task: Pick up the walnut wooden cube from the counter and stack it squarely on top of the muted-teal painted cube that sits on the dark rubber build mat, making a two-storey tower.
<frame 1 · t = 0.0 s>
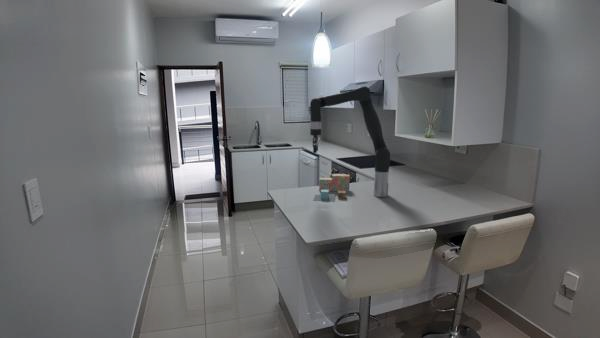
hand: (315, 151, 225), 29 cm above the countertop, fingers open, 8 cm apart
teal cube: (324, 198, 216), point 1 cm above the countertop, touching build mat
build mat: (324, 199, 216), on the countertop
walnut cube: (341, 199, 217), on the countertop
stack of blocks: (334, 191, 235), on the countertop
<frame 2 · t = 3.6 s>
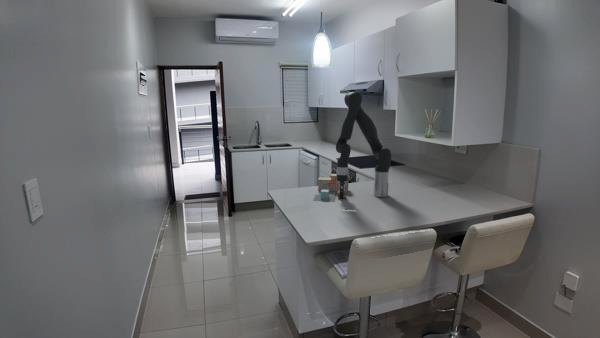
hand: (341, 198, 217), 0 cm above the countertop, fingers closed on walnut cube, 5 cm apart
walnut cube: (341, 198, 217), on the countertop, touching gripper
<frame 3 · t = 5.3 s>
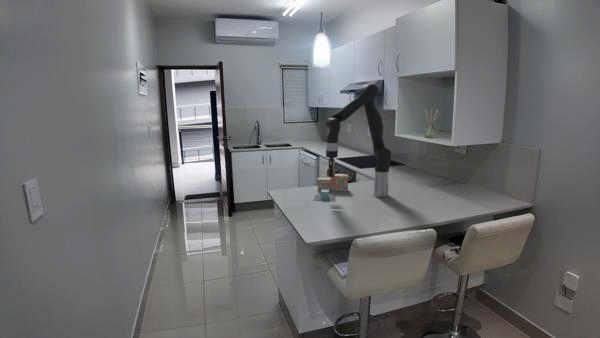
hand: (330, 175, 213), 16 cm above the countertop, fingers closed on walnut cube, 5 cm apart
walnut cube: (330, 176, 213), point 16 cm above the countertop, touching gripper
when the fingers open (7 cm above the countertop, at t = 7.3 s): walnut cube stays where it is, resting on teal cube.
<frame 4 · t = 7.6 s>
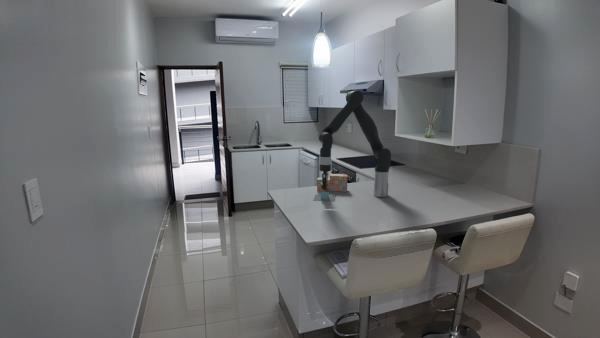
hand: (325, 187, 214), 8 cm above the countertop, fingers open, 8 cm apart
teal cube: (324, 198, 216), point 1 cm above the countertop, touching build mat, walnut cube
walnut cube: (324, 190, 215), point 6 cm above the countertop, touching teal cube
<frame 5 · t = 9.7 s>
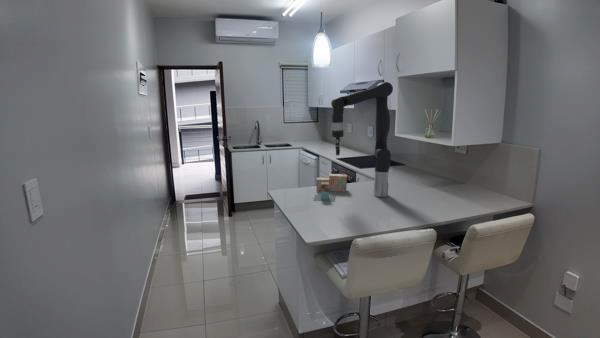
hand: (337, 154, 216), 29 cm above the countertop, fingers open, 8 cm apart
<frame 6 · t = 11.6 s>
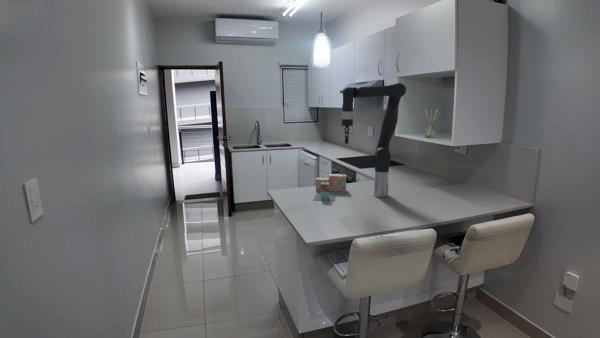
hand: (346, 142, 219), 36 cm above the countertop, fingers open, 8 cm apart
at the end: walnut cube 0.0 cm off-centre on the teal cube, point 5.0 cm above the teal cube's base; walnut cube tilted 0°; the gripper is holding nothing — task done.
